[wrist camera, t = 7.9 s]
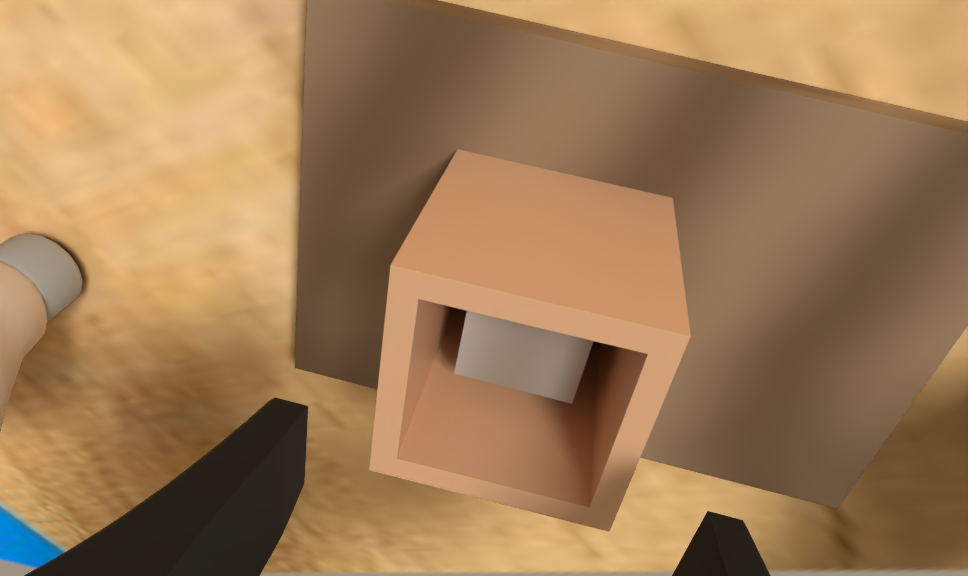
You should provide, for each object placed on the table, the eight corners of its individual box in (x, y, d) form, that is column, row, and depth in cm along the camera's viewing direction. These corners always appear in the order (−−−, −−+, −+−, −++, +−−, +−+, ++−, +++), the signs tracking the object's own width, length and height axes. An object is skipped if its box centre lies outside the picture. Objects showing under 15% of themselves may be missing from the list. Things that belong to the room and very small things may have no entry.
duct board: (1056, 142, 16) (1192, 233, 12) (828, 479, 23) (869, 609, 19) (326, -26, 17) (237, 9, 13) (308, 346, 24) (245, 443, 20)
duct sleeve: (672, 197, 17) (690, 336, 12) (613, 366, 20) (609, 531, 15) (457, 149, 18) (390, 265, 13) (431, 322, 21) (369, 470, 16)
